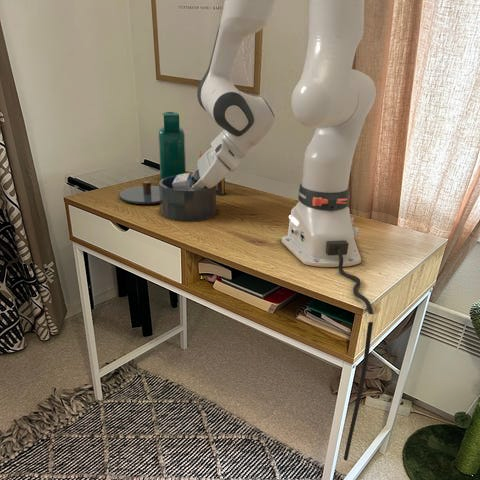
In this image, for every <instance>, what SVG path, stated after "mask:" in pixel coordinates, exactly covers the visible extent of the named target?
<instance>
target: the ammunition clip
mask: <svg viewBox="0 0 480 480" xmlns="http://www.w3.org/2000/svg"><path fill="white" fill-rule="evenodd" d="M205 153H206V151H204V152H202V151H201V150H200V151H199V152H198V160H199V159H200V158H201V157H202V156H203V155H204V154H205ZM225 178H226V177H224V178H223V179H222V180H221V181H220V182H219V183H218V184H216V195H219V196H223V195H225V194H226V179H225Z"/></svg>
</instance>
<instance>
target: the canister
mask: <svg viewBox="0 0 480 480" xmlns="http://www.w3.org/2000/svg"><path fill="white" fill-rule="evenodd" d="M191 176H192V174H191ZM175 177H176V176H170V177H166V178H163V179H161V178H160V180H159V181H158V186H159V192H160V203H159V209H160V210H159V211H160V214H161V216H163V217H164V218H165V219H168V220H173V221H179V222H199V221H204V220H208V219H210V218H212V217H214V216H215V215H216V213H217V194H216V185H215V186H214V187H212V188H210V189H209V188H207V187H206V186H205V187H204V188H202V189H196V190H181V189H173V185H172V183H173V181H174V179H175ZM199 179H200V177H199V178H198V179H197V181H196V182H195V183H197V182H198V180H199ZM195 183H194V184H195Z"/></svg>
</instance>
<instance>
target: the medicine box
mask: <svg viewBox="0 0 480 480" xmlns="http://www.w3.org/2000/svg"><path fill="white" fill-rule="evenodd" d="M191 175H192V174H191V173H190V172H186V174H180V175H176V177H175V179H174V181H173V183H172V185H173V189H181V190H190V188H191V187H192V185H193V183H192V178H191Z"/></svg>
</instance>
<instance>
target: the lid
mask: <svg viewBox="0 0 480 480" xmlns="http://www.w3.org/2000/svg"><path fill="white" fill-rule="evenodd" d="M119 198H120V199H121V200H122V201H124V202H127V203H131V204H137V205H138V204H139V205H151V204H153V205H154V204H160V192H159V185H152V183H151V180H144V181H142V185H138V186H132V187H127V188H125V189H123V190H121V191H120V192H119Z"/></svg>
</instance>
